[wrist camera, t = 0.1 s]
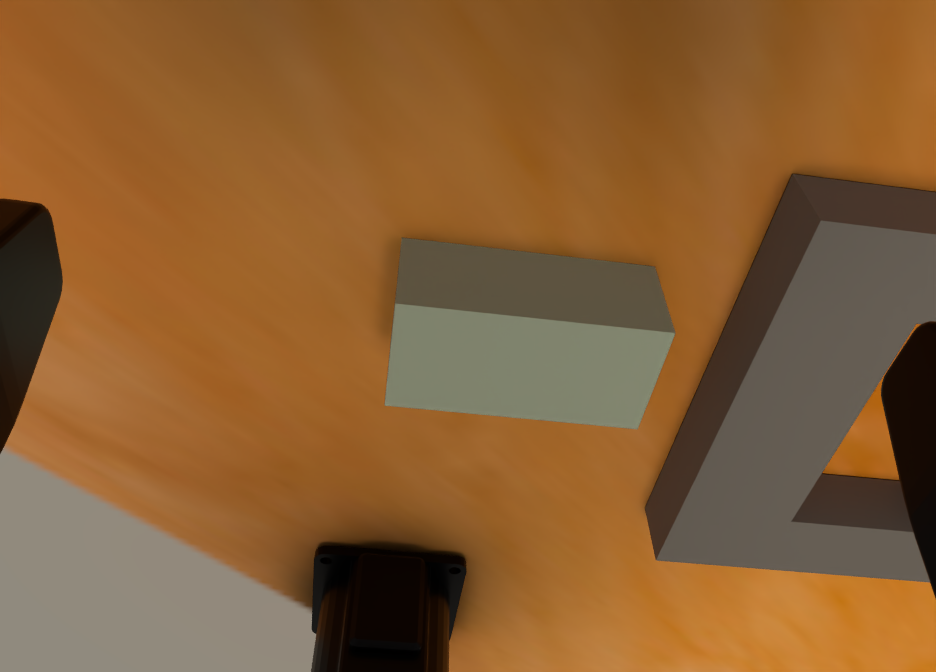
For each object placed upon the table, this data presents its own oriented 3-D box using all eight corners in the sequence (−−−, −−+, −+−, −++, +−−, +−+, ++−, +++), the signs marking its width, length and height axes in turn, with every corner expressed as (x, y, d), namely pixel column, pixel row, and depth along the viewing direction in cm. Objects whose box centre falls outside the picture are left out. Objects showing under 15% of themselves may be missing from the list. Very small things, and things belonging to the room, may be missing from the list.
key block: (621, 355, 29) (637, 429, 26) (391, 332, 28) (384, 405, 25) (653, 262, 26) (675, 333, 24) (402, 233, 26) (395, 303, 23)
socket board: (964, 535, 35) (995, 589, 33) (645, 508, 34) (656, 562, 32) (1230, 229, 25) (1295, 280, 23) (792, 173, 24) (821, 222, 22)
